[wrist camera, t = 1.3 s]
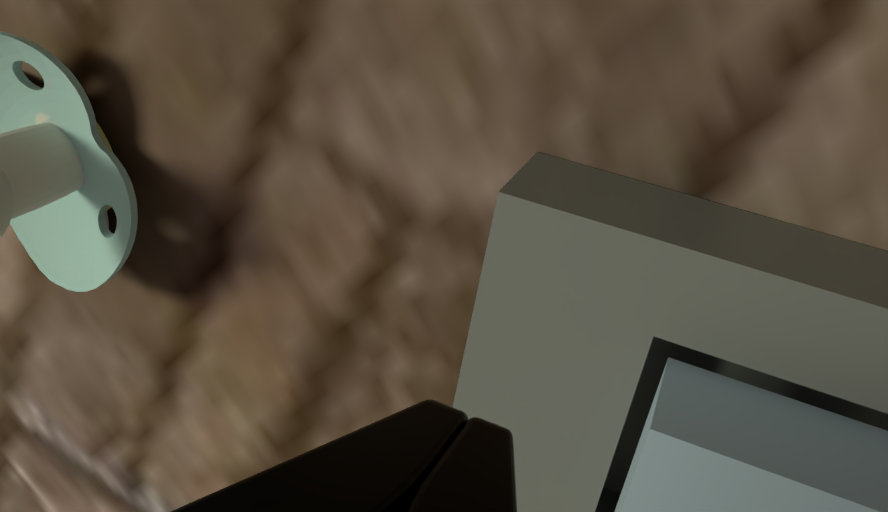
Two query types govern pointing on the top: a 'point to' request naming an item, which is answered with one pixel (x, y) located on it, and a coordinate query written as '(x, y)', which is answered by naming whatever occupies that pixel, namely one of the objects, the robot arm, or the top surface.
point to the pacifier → (60, 173)
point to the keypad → (653, 320)
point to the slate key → (750, 452)
